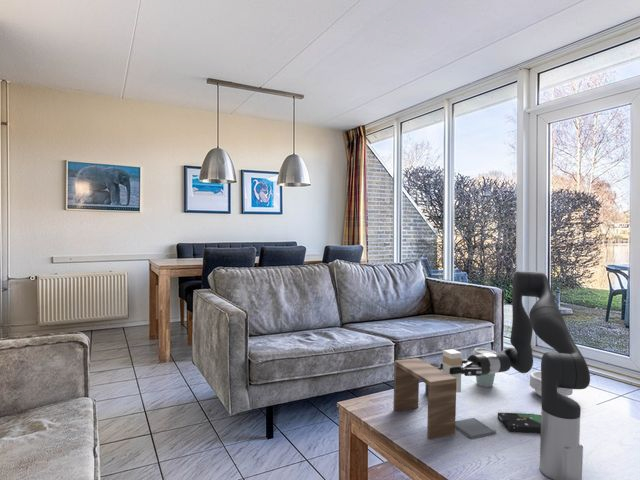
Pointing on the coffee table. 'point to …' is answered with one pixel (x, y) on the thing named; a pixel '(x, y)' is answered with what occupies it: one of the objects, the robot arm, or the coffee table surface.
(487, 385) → the disposable coffee cup
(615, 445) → the coffee table surface
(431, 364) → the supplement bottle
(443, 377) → the shelf bay
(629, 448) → the coffee table surface
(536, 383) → the paper bowls
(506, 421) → the disk drive
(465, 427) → the mat
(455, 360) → the carton
